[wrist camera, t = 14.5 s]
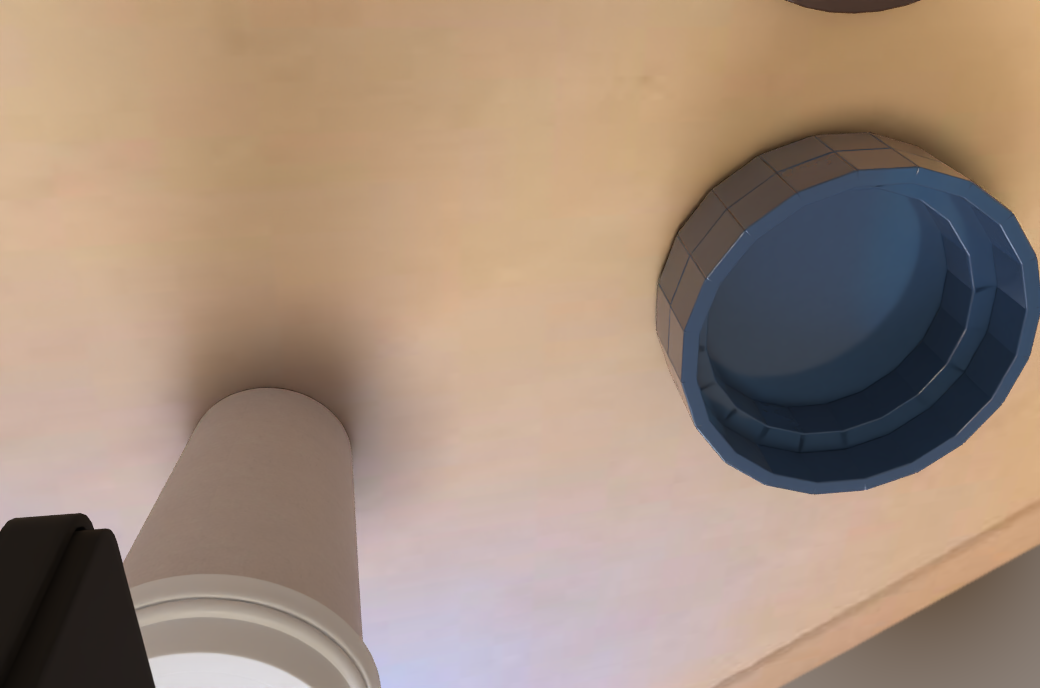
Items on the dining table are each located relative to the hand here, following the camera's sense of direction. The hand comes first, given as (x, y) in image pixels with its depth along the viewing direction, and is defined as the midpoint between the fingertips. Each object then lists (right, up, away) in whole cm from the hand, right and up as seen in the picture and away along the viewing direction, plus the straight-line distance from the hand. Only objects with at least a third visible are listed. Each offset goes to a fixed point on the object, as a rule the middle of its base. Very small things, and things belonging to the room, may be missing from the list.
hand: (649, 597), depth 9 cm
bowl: (+11, +4, +31) cm, 33 cm away
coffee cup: (-11, -2, +32) cm, 34 cm away
